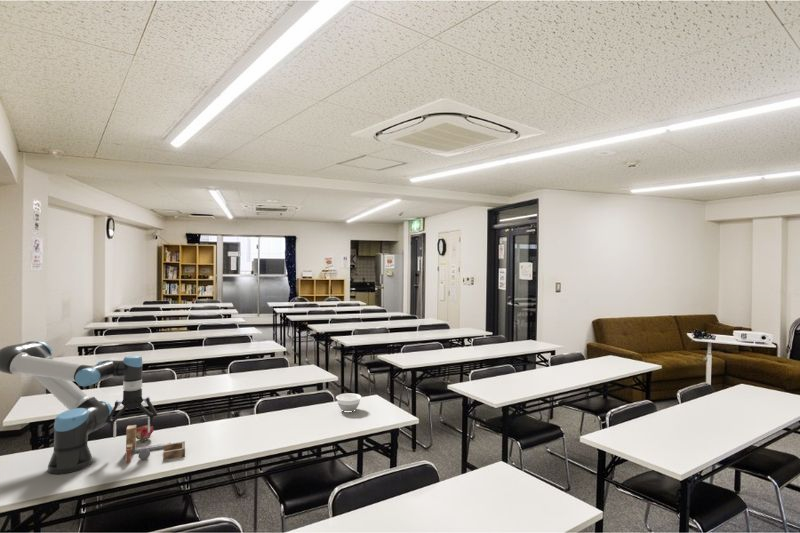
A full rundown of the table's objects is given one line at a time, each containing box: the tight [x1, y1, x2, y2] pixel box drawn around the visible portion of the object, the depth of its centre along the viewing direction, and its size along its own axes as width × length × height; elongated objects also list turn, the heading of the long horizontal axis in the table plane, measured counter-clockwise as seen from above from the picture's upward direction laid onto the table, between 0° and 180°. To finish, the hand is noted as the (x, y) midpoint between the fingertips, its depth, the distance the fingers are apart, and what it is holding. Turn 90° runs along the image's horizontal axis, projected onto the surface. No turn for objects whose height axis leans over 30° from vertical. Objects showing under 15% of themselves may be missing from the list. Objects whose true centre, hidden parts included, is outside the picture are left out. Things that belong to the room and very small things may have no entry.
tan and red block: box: [125, 424, 137, 463], centre depth 191 cm, size 4×14×12 cm, turn 28°
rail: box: [131, 442, 172, 455], centre depth 199 cm, size 18×2×2 cm, turn 118°
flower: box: [136, 424, 154, 444], centre depth 209 cm, size 10×9×8 cm
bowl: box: [335, 392, 362, 411], centre depth 260 cm, size 16×16×9 cm
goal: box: [162, 440, 186, 461], centre depth 194 cm, size 9×10×4 cm
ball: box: [138, 449, 151, 461], centre depth 189 cm, size 4×4×4 cm
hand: (132, 434), depth 195 cm, fingers open, 13 cm apart
